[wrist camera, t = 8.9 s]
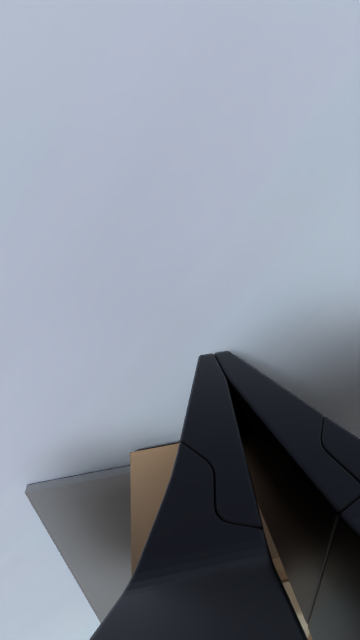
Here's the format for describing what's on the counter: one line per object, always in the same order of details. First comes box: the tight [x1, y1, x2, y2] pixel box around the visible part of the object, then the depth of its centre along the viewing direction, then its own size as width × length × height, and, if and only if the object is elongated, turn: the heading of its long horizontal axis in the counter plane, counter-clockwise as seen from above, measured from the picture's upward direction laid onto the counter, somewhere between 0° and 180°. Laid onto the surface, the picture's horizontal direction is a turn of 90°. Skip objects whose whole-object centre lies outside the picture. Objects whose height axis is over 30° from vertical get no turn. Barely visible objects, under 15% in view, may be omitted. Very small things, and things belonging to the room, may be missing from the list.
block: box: [130, 443, 313, 640], centre depth 12 cm, size 6×4×8 cm
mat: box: [25, 466, 132, 623], centre depth 16 cm, size 12×14×1 cm
